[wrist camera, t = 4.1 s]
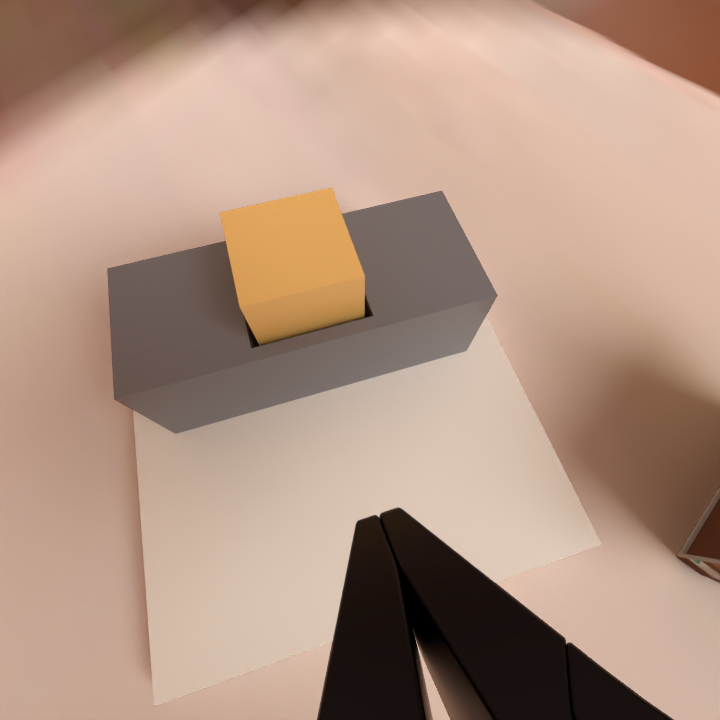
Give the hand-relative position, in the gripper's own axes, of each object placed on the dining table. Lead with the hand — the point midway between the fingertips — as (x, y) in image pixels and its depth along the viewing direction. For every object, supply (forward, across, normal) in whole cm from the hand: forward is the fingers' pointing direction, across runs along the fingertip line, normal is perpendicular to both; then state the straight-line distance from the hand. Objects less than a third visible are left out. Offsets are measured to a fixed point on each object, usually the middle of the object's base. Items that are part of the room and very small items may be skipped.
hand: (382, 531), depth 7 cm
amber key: (+12, 0, -3) cm, 13 cm away
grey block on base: (+14, 0, +5) cm, 15 cm away
